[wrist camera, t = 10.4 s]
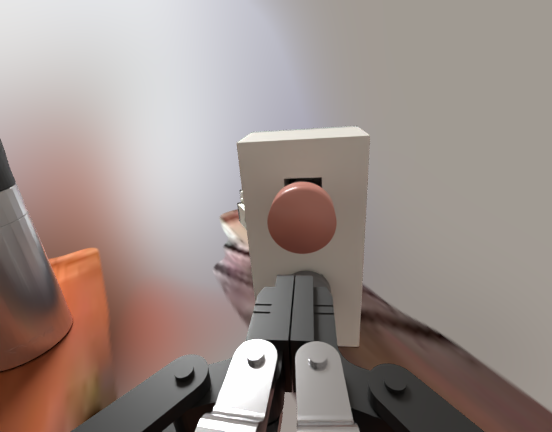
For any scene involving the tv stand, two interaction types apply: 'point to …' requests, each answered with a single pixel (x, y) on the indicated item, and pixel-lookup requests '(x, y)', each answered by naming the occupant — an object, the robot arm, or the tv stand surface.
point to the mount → (346, 199)
